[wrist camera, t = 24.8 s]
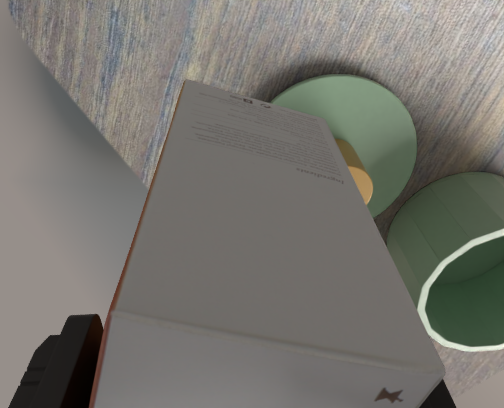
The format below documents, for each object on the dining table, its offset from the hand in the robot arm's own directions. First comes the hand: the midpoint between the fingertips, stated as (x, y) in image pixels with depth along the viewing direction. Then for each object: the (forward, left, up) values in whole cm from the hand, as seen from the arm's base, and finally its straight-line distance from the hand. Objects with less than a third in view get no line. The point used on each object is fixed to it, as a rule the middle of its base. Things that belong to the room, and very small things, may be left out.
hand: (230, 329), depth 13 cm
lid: (+7, +8, -24) cm, 27 cm away
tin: (+16, +21, -25) cm, 36 cm away
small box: (0, 0, -9) cm, 9 cm away
